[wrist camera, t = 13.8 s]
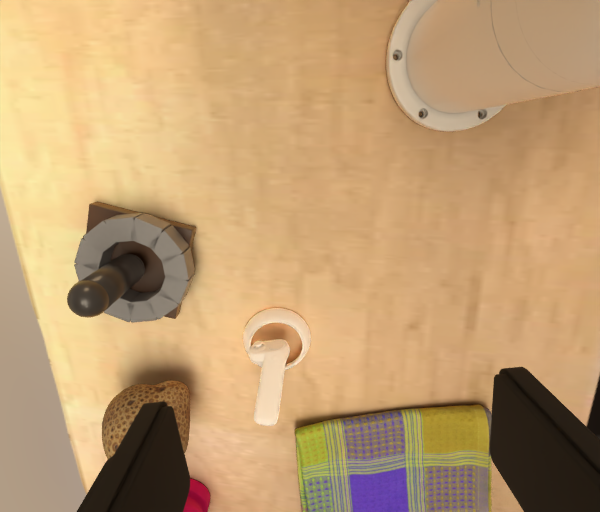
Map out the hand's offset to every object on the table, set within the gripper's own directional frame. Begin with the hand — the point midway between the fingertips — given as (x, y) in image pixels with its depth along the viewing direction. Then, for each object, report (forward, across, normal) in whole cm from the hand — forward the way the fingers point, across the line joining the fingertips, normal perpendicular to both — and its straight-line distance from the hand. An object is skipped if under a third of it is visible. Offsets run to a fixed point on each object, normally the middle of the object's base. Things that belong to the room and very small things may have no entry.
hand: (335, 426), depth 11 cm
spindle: (+28, +18, +2) cm, 33 cm away
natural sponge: (+28, +18, +19) cm, 39 cm away
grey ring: (+27, +17, +2) cm, 32 cm away
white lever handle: (+28, +4, +13) cm, 32 cm away
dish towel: (+28, -8, +32) cm, 44 cm away
